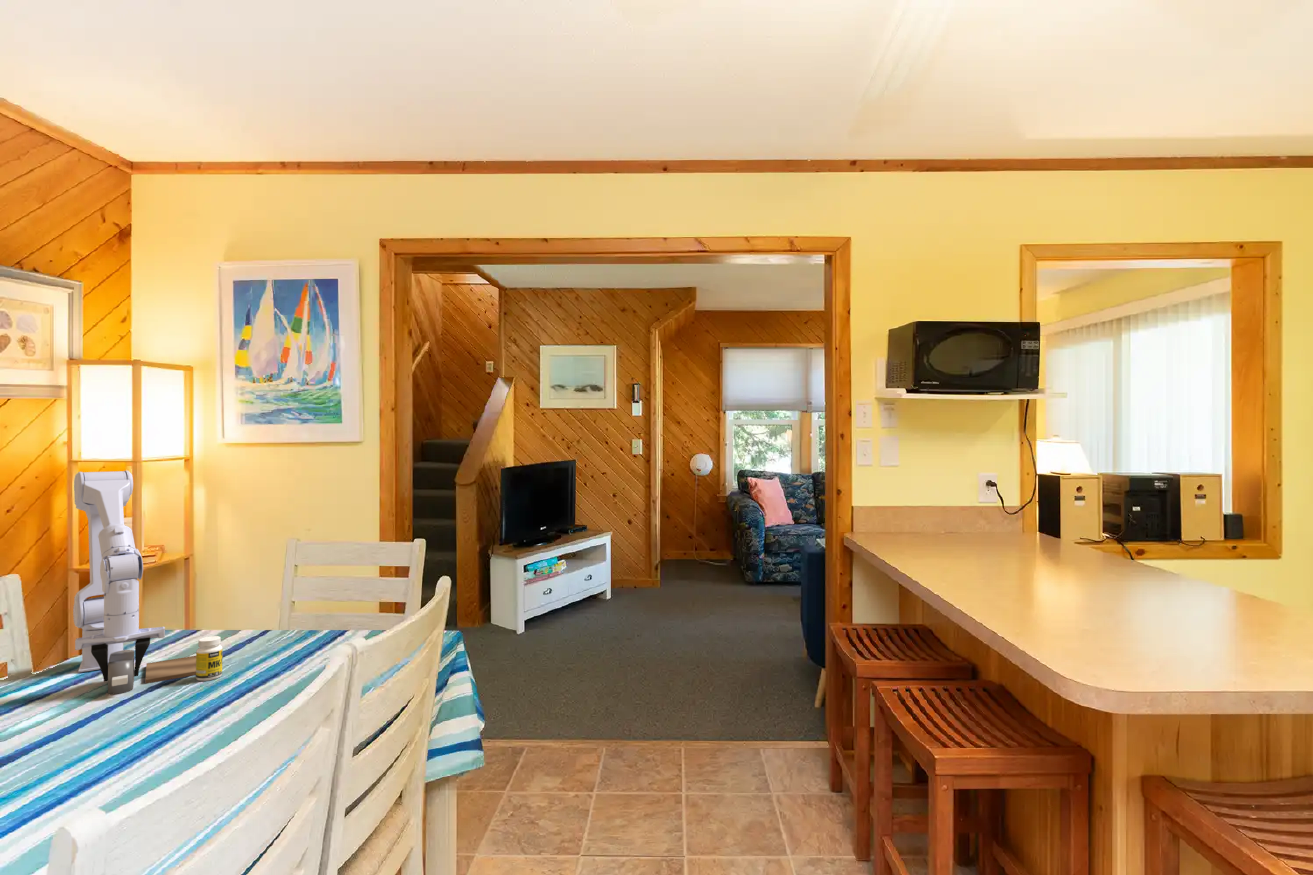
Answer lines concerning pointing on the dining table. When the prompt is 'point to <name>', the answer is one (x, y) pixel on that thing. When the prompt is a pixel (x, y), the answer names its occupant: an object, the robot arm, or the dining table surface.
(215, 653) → the supplement bottle
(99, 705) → the dining table surface
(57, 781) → the dining table surface
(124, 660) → the grey rounded piece
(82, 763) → the dining table surface
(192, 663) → the walnut board
